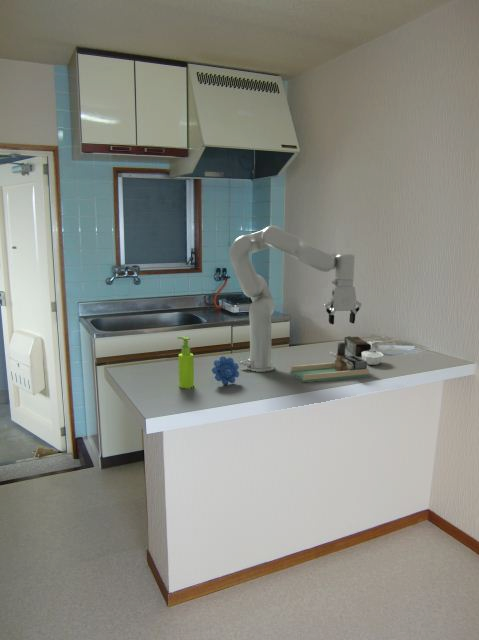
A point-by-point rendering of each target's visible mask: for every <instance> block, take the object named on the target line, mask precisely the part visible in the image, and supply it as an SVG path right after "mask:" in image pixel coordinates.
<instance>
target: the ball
mask: <svg viewBox="0 0 479 640" xmlns="http://www.w3.org/2000/svg"><path fill="white" fill-rule="evenodd" d="M353 367H354V366H353V365H349V364H347V369H346V370H348V371H349V370H352V369H353Z"/></svg>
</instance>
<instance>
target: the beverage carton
mask: <svg viewBox="0 0 479 640" xmlns="http://www.w3.org/2000/svg"><path fill="white" fill-rule="evenodd" d="M343 343H345V350H347V351H348V352H350V353H351V354H352V355H355V356H357V357H362V352H363V351H369V350H370V349H372V348H371V347H372V346H371V345H372V344H370V343H369V342H367V341H366V340H364V339H362V338H360V337H359V336H350V335H349V336H345V337H344V342H343Z"/></svg>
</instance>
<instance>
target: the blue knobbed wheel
mask: <svg viewBox="0 0 479 640" xmlns="http://www.w3.org/2000/svg"><path fill="white" fill-rule="evenodd" d="M213 365H214V367H212V369H211V372H212V374H214V379H215V381H217V382H221V383H222V384H223V385H225V386H226V384H227V385H228V384H229V383H231V384H235V383H236V379H237V378H239V377H240V372H239V371H238V370H239V368H240V365H239V363H236V362H235V360H234V358H232V357H228V358H227V357H226V356H223V355H222V356H220V357H219V360H218V359H216V360H214V361H213Z"/></svg>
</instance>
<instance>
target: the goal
mask: <svg viewBox="0 0 479 640" xmlns="http://www.w3.org/2000/svg"><path fill="white" fill-rule="evenodd" d="M345 355H346V354H345ZM346 359H347V360H349V361H351V362H352V363H353V366H354V370H359V369H368V363H367V361H365V360H363V359H362V357H360V356H355V355H353V354H352V355H346Z"/></svg>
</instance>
